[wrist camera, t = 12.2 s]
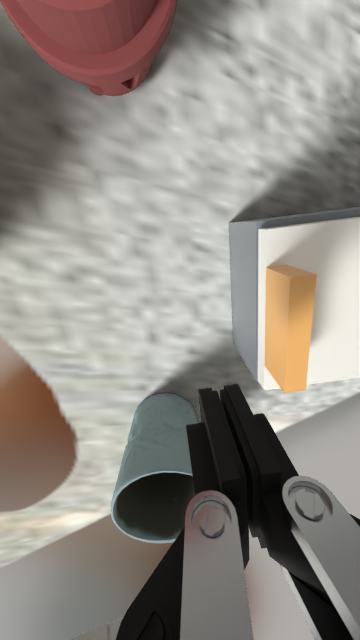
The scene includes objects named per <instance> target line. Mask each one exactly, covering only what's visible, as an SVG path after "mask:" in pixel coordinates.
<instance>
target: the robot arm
mask: <svg viewBox="0 0 360 640" xmlns="http://www.w3.org/2000/svg"><path fill="white" fill-rule="evenodd" d="M198 391H199V401H200V411H201V420H202V423H195V424H189V425H186V430H187V438H188V445H189V453H190V460H191V468H192V475H193V483H194V490H195V496H194V497H193V498H192V499H191V501H190V503H189V505H188V507H187V510H186V516H185V527H184V528H183V529H182V531H181V532H180V534H179V535H178V537H177V538H176V540H175V541H174V543H173V544H172V546H171V547H170V549H169V550H168V551H167V553H166V555H165V556H164V557H163V559H162V560H161V562H160V563H159V565H158V566H157V568H156V569H155V570H154V572H153V574H152V575H151V576H150V578H149V579H148V581H147V582H146V584H145V585H144V587H143V588H142V589H141V591H140V593H139V594H138V595H137V597H136V598H135V600H134V601H133V603H132V604H131V606H130V607H129V609H128V610H127V612H126V614H125V616H123V617H121V618H119V619H117V620H115V621H114V622H112V623H110V624H108V622H107V621H106V622H104V623H102V624H100V625H98V626H96V627H94V628H92V629H91V630H88V631H87V632H85V633H83V634H81V635H79V636H77V637H75V638H73V639H72V640H253V633H252V624H251V617H250V609H249V602H248V594H247V587H246V579H245V573H244V570H245V568H246V566H247V563H248V561H249V529H250V532H251V535H252V537H258V539H259V542H260V545H261V548H267V549H268V552H269V555H270V557H272V558H273V559H274V560H275V561H277V562H278V563H279V564H280V566H281V569H282V572H283V574H284V576H285V579H286V581H287V583H288V585H289V587H290V589H291V591H292V593H293V595H294V597H295V599H296V602H297V604H298V606H299V608H300V610H301V612H302V614H303V616H304V618H305V620H306V622H307V624H308V627H309V629H310V631H311V633H312V635H313V637H314V639H315V640H360V519H358V518H356V517H354V516H353V515H351V514H349V513H348V512H347V511H346V509H345V508H344V507H343V506H342V504H341V503H340V502H339V501H338V500H337V498H336V497H335V496H334V495H333V493H332V492H331V491H329V489H328V488H327V487H326V486H325V485H323V484H322V483H320V482H319V481H317V480H315V479H313V478H310V477H306V476H299V475H298V473H297V471H296V470H295V468H294V466H293V464H292V463H291V461H290V459H289V457H288V456H287V454H286V452H285V450H284V448H283V447H282V445H281V443H280V441H279V440H278V438H277V436H276V434H275V432H274V431H273V429H272V427H271V425H270V423H269V422H268V420H267V418H266V417H265V415H264V414H263V413H262V414H255V415H253V413H252V411H251V409H250V407H249V405H248V403H247V401H246V399H245V398H244V396H243V394H242V392H241V390H240V388H239V386H238V384H233V385H227V386H224V390H220V398H219V395H218V393H217V391H212V389H211V388H206V389H199V390H198ZM220 399H221V401H220ZM248 525H249V526H248Z"/></svg>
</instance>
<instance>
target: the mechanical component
mask: <svg viewBox="0 0 360 640" xmlns="http://www.w3.org/2000/svg"><path fill="white" fill-rule="evenodd" d="M0 2H1V4H2V6H3V7H4V9H5V11H6V12H7V14H8V15H9V17H10V18H11V20H12V21H13V23H14V24H15V26H16V27H17V29H18V30H19V31H20V33H21V34H22V35H23V37H24V38H25V39H26V41H27V42H28V43H29V45H30V46H31V47H32V48H33V49H34V50H35V51H36V53H37V54H38V55H39V56H40V57H41V58H42V59H43V60H44V61H46V62H47V63H48V64H49V65H50V66H51V67H53V68H54V69H56V70H57V71H58V72H60V73H61V74H63V75H65V76H67V77H69V78H71V79H73V80H75V81H78V82H81V83H84V84H86V85H87V86H88V87H89V88H90V90H91V91H92V92H93V93H94V94H95V95H99V96H100V95H103V94H104V95H109V96H119V95H123V94H127V93H129V92H130V91H132V90H134V89H135V88H136V87H138V86H139V85H140V84H141V82H142V81H143V80H144V79H145V77H146V75H147V73H148V72H149V70H150V67H151V64H152V61H153V59H154V58H155V57H156V55H157V54H158V53H159V51H160V49H161V47H162V46H163V44H164V42H165V40H166V38H167V35H168V33H169V31H170V28H171V25H172V22H173V18H174V14H175V10H176V4H177V0H0Z"/></svg>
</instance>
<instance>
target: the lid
mask: <svg viewBox="0 0 360 640" xmlns="http://www.w3.org/2000/svg"><path fill="white" fill-rule="evenodd" d="M359 377H360V217H352V218H344V219H336V220H328V221H320V222H312V223H304V224H296V225H288V226H280V227H272V228H264V229H258V381H259V383H260V385H261V386H262V388H263V390H271V389H278V388H281V389H282V391H283V392H284V393H288V392H295V391H302V390H306V385H308V384H315V383H322V382H330V381H337V380H344V379H352V378H359Z"/></svg>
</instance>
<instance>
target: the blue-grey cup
mask: <svg viewBox="0 0 360 640" xmlns="http://www.w3.org/2000/svg"><path fill="white" fill-rule="evenodd" d="M195 423H198V421H197V418H196V414H195V411H194V409H193V407H192V405H191V404H190V403H189V402H188V401H187V400H186V399H184V398H183V397H181V396H178V395H175V394H170V393H162V394H156V395H153V396H150V397H148V398H147V399H145V400H144V401H142V402H141V404H140V405H139V406H138V408H137V409H136V412H135V414H134V418H133V422H132V426H131V430H130V433H129V437H128V444H127V445H126V448H125V451H124V455H123V459H122V463H121V467H120V471H119V475H118V479H117V483H116V487H115V490H114V494H113V498H112V502H111V515H112V519H113V521H114V523H115V524H116V526H117V527H118V528H119V529H120V530H121V531H122V532H123V533H125V534H126V535H128V536H130V537H132V538H134V539H137V540H140V541H144V542H149V543H170V542H174V541H175V540H176V538H177V537H178V535H179V534H180V532H181V531H182V529H183V528H184V527H185V516H186V510H187V507H188V505H189V503H190V501H191V499H192V498H193V497H194V496H195V490H194V483H193V475H192V468H191V460H190V453H189V445H188V438H187V430H186V425H189V424H195Z"/></svg>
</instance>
